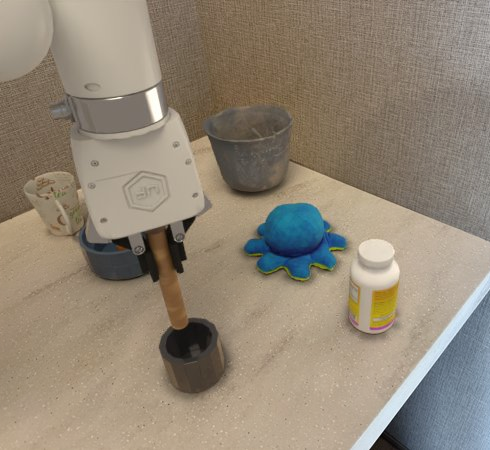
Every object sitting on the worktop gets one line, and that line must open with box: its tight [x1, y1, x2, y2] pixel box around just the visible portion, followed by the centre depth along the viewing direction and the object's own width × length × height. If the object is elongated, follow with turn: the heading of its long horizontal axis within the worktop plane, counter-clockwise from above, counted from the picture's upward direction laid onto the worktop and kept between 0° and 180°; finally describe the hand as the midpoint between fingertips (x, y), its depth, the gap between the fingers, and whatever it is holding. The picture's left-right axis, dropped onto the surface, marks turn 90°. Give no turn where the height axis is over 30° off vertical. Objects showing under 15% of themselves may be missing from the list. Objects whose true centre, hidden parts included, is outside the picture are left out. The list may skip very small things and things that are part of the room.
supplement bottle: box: [348, 238, 401, 335], centre depth 61 cm, size 7×7×13 cm
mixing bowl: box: [77, 222, 168, 281], centre depth 77 cm, size 14×14×6 cm
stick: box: [145, 226, 189, 329], centre depth 49 cm, size 2×2×14 cm
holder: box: [158, 317, 225, 394], centre depth 57 cm, size 7×7×6 cm
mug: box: [23, 171, 85, 237], centre depth 82 cm, size 8×13×10 cm, turn 40°
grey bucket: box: [202, 104, 295, 193], centre depth 91 cm, size 18×18×15 cm
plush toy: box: [243, 202, 348, 282], centre depth 76 cm, size 17×17×8 cm
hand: (165, 269), depth 48 cm, fingers closed on stick, 2 cm apart
